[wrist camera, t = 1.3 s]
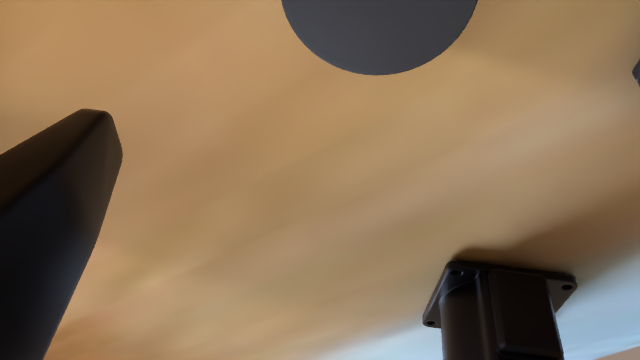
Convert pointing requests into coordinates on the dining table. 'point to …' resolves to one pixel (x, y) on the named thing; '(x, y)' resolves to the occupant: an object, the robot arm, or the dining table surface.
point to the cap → (378, 31)
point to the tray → (637, 72)
